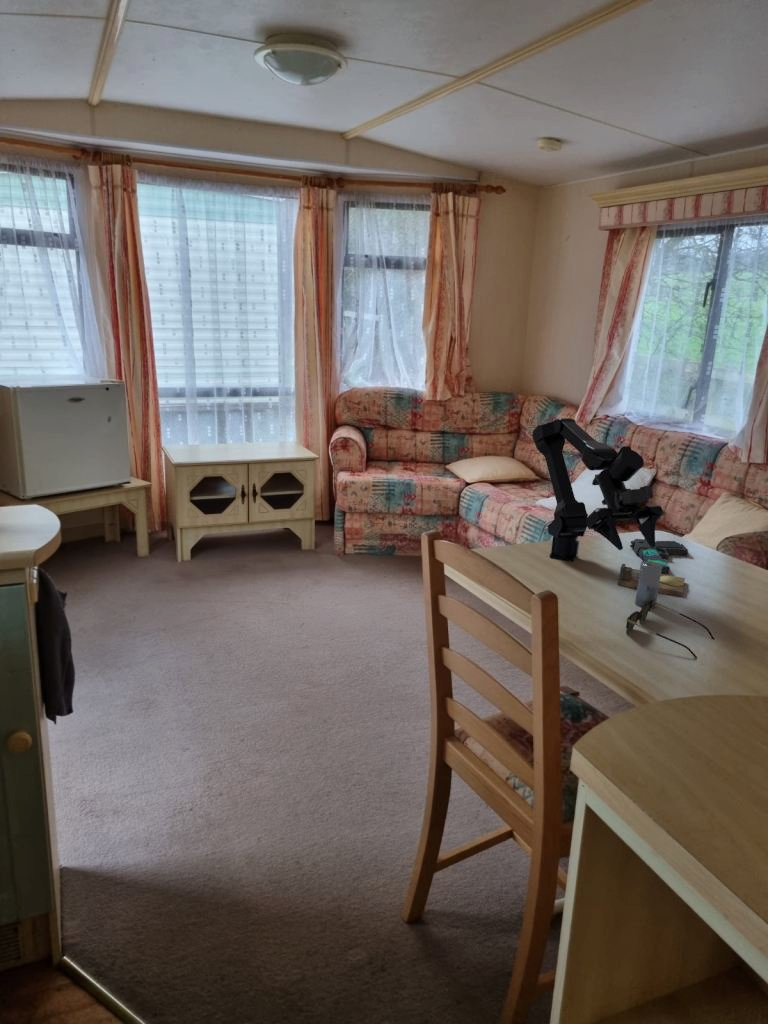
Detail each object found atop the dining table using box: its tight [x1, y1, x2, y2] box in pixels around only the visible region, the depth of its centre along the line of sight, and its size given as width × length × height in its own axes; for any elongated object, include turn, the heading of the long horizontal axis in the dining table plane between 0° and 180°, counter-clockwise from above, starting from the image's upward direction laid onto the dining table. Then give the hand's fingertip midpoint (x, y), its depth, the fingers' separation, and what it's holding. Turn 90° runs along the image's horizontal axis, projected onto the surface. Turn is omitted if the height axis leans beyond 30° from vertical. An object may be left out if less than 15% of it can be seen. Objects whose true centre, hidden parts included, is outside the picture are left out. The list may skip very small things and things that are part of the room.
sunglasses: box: [625, 600, 715, 658], centre depth 149 cm, size 14×15×5 cm
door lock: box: [617, 563, 685, 597], centre depth 179 cm, size 15×11×4 cm
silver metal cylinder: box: [634, 560, 662, 610], centre depth 165 cm, size 5×5×10 cm
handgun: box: [629, 538, 689, 575], centre depth 198 cm, size 4×26×15 cm
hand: (637, 548), depth 168 cm, fingers open, 9 cm apart
